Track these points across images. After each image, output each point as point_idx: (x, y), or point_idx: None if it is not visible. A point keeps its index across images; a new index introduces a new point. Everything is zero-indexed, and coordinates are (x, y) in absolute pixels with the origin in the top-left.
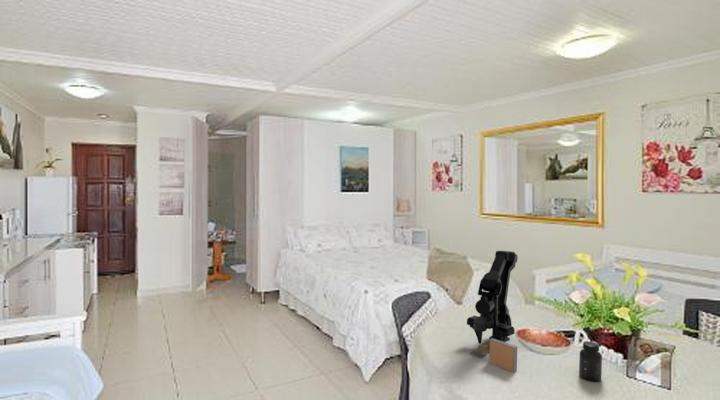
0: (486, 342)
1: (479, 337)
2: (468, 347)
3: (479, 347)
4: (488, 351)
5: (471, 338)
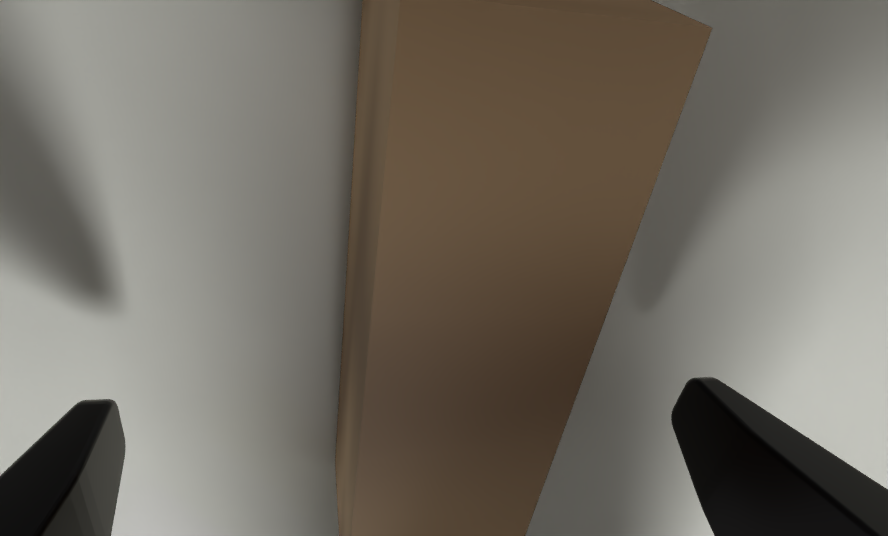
0: (530, 453)
1: (796, 509)
2: (880, 117)
3: (611, 7)
4: (352, 220)
5: None
